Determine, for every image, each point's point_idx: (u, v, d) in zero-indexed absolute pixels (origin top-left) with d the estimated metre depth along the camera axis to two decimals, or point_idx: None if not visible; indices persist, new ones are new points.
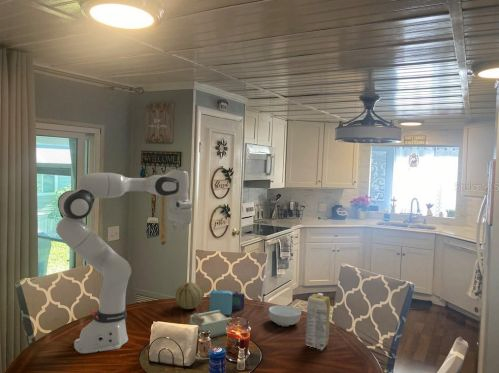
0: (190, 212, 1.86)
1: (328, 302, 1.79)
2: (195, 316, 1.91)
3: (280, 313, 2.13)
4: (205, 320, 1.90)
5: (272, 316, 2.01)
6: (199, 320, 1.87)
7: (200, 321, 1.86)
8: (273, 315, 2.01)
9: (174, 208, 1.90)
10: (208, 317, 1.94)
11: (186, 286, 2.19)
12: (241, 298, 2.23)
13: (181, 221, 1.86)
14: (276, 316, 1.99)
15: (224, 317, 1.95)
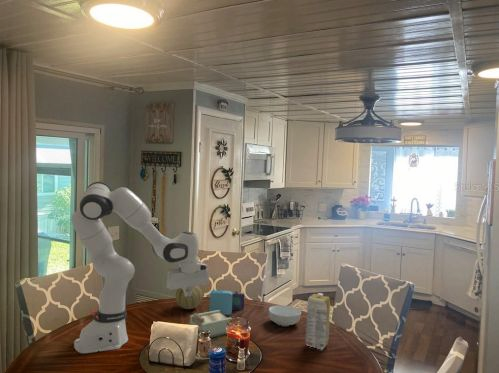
0: None
1: (328, 302, 1.79)
2: (195, 316, 1.91)
3: (280, 313, 2.13)
4: (205, 320, 1.90)
5: (272, 316, 2.01)
6: (199, 320, 1.87)
7: (200, 321, 1.86)
8: (273, 315, 2.01)
9: (193, 273, 1.83)
10: (208, 317, 1.94)
11: None
12: (241, 298, 2.23)
13: (203, 282, 1.87)
14: (276, 316, 1.99)
15: (224, 317, 1.95)
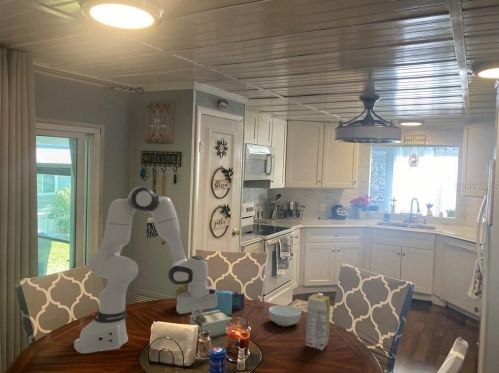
0: None
1: (328, 302, 1.79)
2: None
3: (280, 313, 2.13)
4: (207, 320, 1.91)
5: (272, 316, 2.01)
6: (201, 320, 1.88)
7: (202, 321, 1.87)
8: (273, 315, 2.01)
9: (202, 297, 1.86)
10: (210, 316, 1.95)
11: (186, 286, 2.19)
12: (241, 298, 2.23)
13: (212, 306, 1.91)
14: (276, 316, 1.99)
15: (226, 317, 1.96)
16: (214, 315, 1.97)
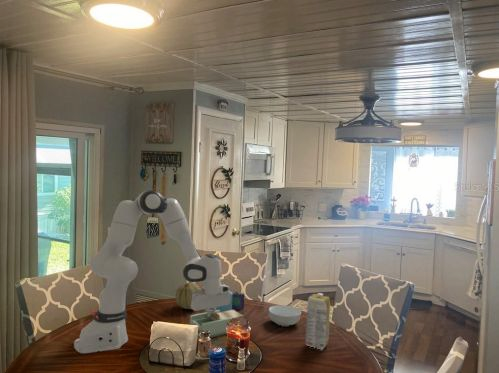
0: None
1: (328, 302, 1.79)
2: None
3: (280, 313, 2.13)
4: (220, 317, 1.95)
5: (272, 316, 2.01)
6: (214, 316, 1.92)
7: (215, 317, 1.92)
8: (273, 315, 2.01)
9: (216, 294, 1.91)
10: (223, 314, 1.99)
11: (186, 286, 2.19)
12: (241, 298, 2.23)
13: (225, 303, 1.95)
14: (276, 316, 1.99)
15: (238, 314, 2.00)
16: (226, 312, 2.01)
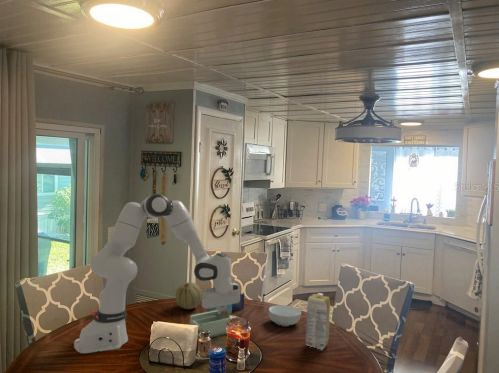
0: None
1: (328, 302, 1.79)
2: None
3: (280, 313, 2.13)
4: None
5: (272, 316, 2.01)
6: (225, 313, 1.96)
7: (226, 314, 1.95)
8: (273, 315, 2.01)
9: (226, 293, 1.94)
10: (231, 316, 2.02)
11: (186, 286, 2.19)
12: (241, 298, 2.23)
13: (235, 301, 1.98)
14: (276, 316, 1.99)
15: None
16: (234, 316, 2.04)
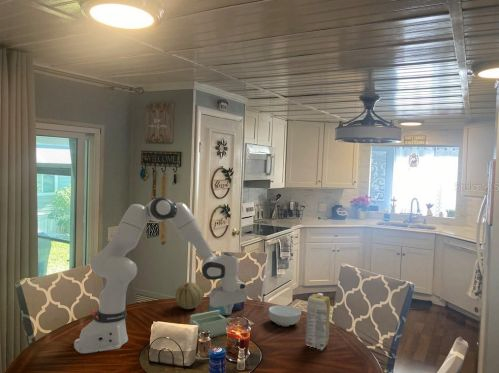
0: None
1: (328, 302, 1.79)
2: None
3: (280, 313, 2.13)
4: None
5: (272, 316, 2.01)
6: None
7: None
8: (273, 315, 2.01)
9: (234, 292, 1.96)
10: None
11: (186, 286, 2.19)
12: None
13: (242, 300, 2.01)
14: (276, 316, 1.99)
15: (249, 322, 2.04)
16: None
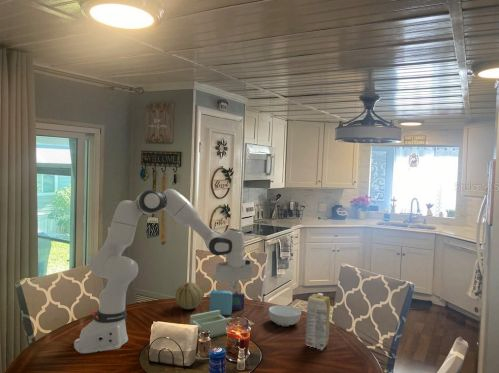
0: None
1: (328, 302, 1.79)
2: None
3: (280, 313, 2.13)
4: None
5: (272, 316, 2.01)
6: None
7: None
8: (273, 315, 2.01)
9: (239, 267, 1.97)
10: None
11: (186, 286, 2.19)
12: (241, 298, 2.23)
13: (247, 276, 2.01)
14: (276, 316, 1.99)
15: (249, 322, 2.04)
16: None
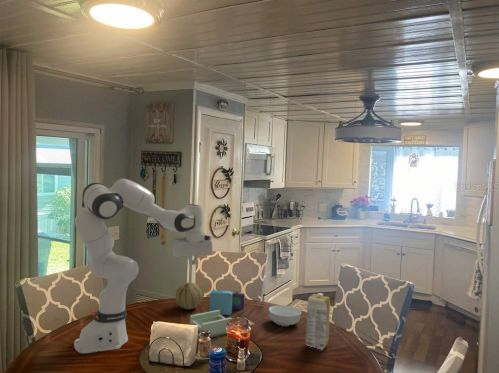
0: None
1: (328, 302, 1.79)
2: None
3: (280, 313, 2.13)
4: None
5: (272, 316, 2.01)
6: None
7: None
8: (273, 315, 2.01)
9: (198, 242, 1.94)
10: None
11: (186, 286, 2.19)
12: (241, 298, 2.23)
13: (207, 252, 1.99)
14: (276, 316, 1.99)
15: (249, 322, 2.04)
16: None
